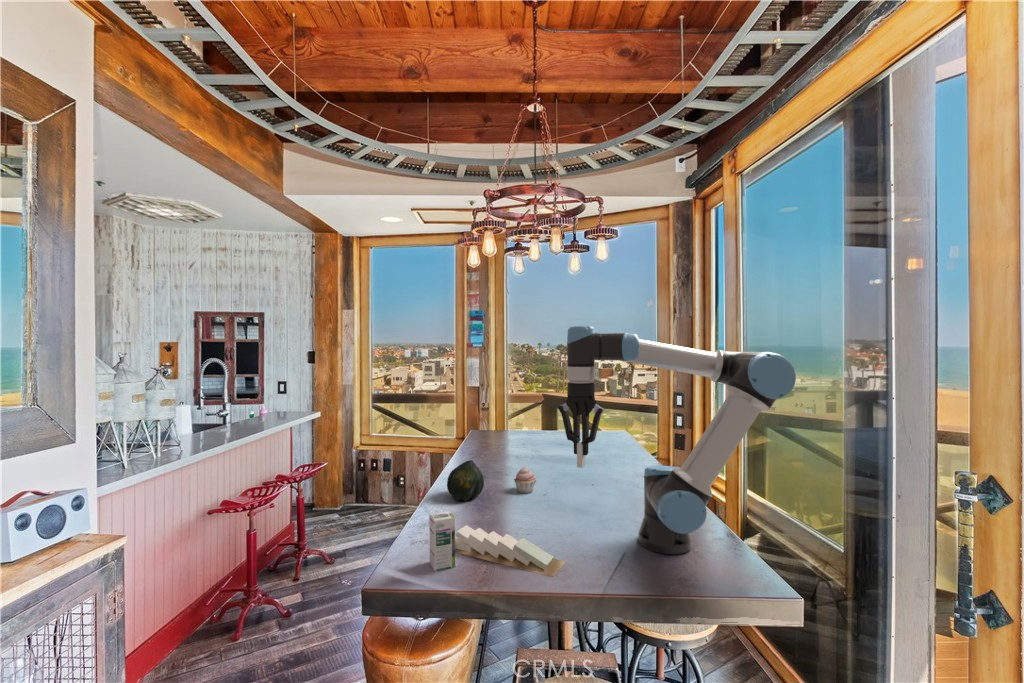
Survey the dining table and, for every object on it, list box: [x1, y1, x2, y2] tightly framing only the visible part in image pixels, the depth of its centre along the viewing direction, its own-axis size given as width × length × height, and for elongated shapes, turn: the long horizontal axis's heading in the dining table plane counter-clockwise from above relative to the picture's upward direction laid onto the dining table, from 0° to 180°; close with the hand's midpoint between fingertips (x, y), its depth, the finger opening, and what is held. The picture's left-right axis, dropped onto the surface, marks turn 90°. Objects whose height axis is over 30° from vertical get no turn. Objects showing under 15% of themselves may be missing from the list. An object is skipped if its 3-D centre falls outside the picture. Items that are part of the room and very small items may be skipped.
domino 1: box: [455, 533, 474, 552], centre depth 132 cm, size 2×5×10 cm
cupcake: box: [513, 466, 537, 494], centre depth 184 cm, size 9×9×10 cm
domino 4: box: [483, 530, 516, 562], centre depth 126 cm, size 2×5×10 cm
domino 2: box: [455, 524, 487, 555], centre depth 130 cm, size 2×5×10 cm
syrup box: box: [428, 510, 456, 572], centre depth 121 cm, size 6×6×14 cm
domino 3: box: [468, 527, 501, 558], centre depth 128 cm, size 2×5×10 cm
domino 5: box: [497, 533, 531, 566], centre depth 124 cm, size 2×5×10 cm
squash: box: [446, 459, 485, 502], centre depth 177 cm, size 14×15×15 cm
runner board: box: [455, 549, 566, 578], centre depth 125 cm, size 30×9×1 cm, turn 63°
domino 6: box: [513, 537, 555, 570], centre depth 122 cm, size 2×5×10 cm
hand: (581, 466), depth 125 cm, fingers closed
